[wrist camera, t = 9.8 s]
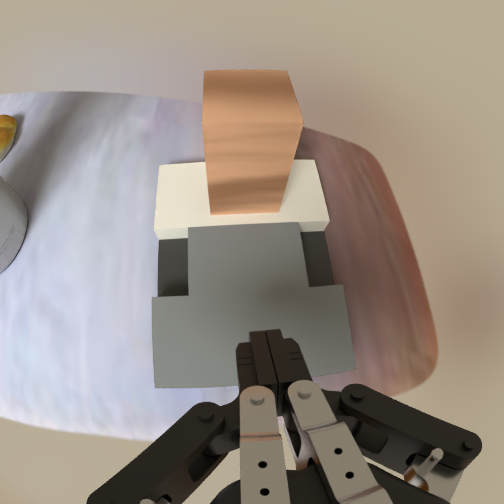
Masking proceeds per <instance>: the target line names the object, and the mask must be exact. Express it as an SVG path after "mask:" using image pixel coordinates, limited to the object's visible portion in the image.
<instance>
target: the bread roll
mask: <svg viewBox="0 0 504 504" xmlns="http://www.w3.org/2000/svg"><path fill="white" fill-rule="evenodd" d="M16 129H17V122H16V120H15V119H14V118H13V117H11V116H9V115H0V162H1V161H2V160H3V159H4V157H5V156H6V154H7V153H8V151H9V150H10V148H11V147H12V144H13V141H14V137H15V133H16Z"/></svg>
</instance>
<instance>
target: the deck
mask: <svg viewBox="0 0 504 504" xmlns="http://www.w3.org/2000/svg"><path fill="white" fill-rule="evenodd" d="M272 329H280V330H281V332H282V335H283V338H284V339H285V338H293V339H294V340H295V341H296V342H297V343H298V344H299V347H300V349H301V353H302V354H303V357H304V360H305V362H306V365H307V367H308V370H309V373H310V375H311V377H316V376H322V375H328V374H334V373H339V372H345V371H350V370H355V369H356V366H355V358H354V351H353V343H352V336H351V330H350V323H349V317H348V311H347V305H346V299H345V293H344V288H343V284H340V285H334V282H333V276H332V271H331V265H330V260H329V255H328V250H327V245H326V240H325V235H324V231H311V232H300V230H299V224H298V222H281V223H258V224H238V225H219V226H201V227H188V238H178V239H162V240H159V252H158V297H152V341H153V365H154V382H155V388H205V387H225V386H238V377H237V366H236V352H235V350H236V348H237V346H238V344H239V343H243V342H249V332H250V331H261V330H264V332H265V330H272Z"/></svg>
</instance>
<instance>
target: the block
mask: <svg viewBox="0 0 504 504" xmlns="http://www.w3.org/2000/svg"><path fill="white" fill-rule="evenodd" d="M303 124H304V121H303V118H302V115H301V111H300V108H299V105H298V102H297V99H296V96H295V93H294V90H293V87H292V84H291V81H290V78H289V76H288V73H287V71H278V70H212V71H204V87H203V112H202V128H203V140H204V152H205V164H206V175H207V185H208V195H209V205H210V215H230V214H251V213H276V212H279V210H280V206H281V203H282V199H283V196H284V192H285V189H286V185H287V182H288V178H289V174H290V171H291V167H292V164H293V160H294V157H295V153H296V149H297V146H298V142H299V139H300V135H301V131H302V128H303Z"/></svg>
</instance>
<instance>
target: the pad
mask: <svg viewBox="0 0 504 504" xmlns="http://www.w3.org/2000/svg"><path fill="white" fill-rule="evenodd" d="M329 221H330V220H329V215H328V211H327V207H326V203H325V199H324V195H323V191H322V187H321V183H320V179H319V175H318V172H317V168H316V164H315V160H293V164H292V167H291V171H290V174H289V178H288V182H287V185H286V189H285V192H284V196H283V199H282V203H281V206H280V210H279V212H276V213H251V214H230V215H210V205H209V195H208V185H207V175H206V164H205V162H196V163H182V164H170V165H160V167H159V176H158V186H157V197H156V209H155V223H154V230H155V233H156V235H157V237H158V239H159V240H162V239H178V238H188V227H201V226H219V225H238V224H258V223H281V222H298V224H299V230H300V232H311V231H324V230H325V228H326V226H327V225H328V223H329Z"/></svg>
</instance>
